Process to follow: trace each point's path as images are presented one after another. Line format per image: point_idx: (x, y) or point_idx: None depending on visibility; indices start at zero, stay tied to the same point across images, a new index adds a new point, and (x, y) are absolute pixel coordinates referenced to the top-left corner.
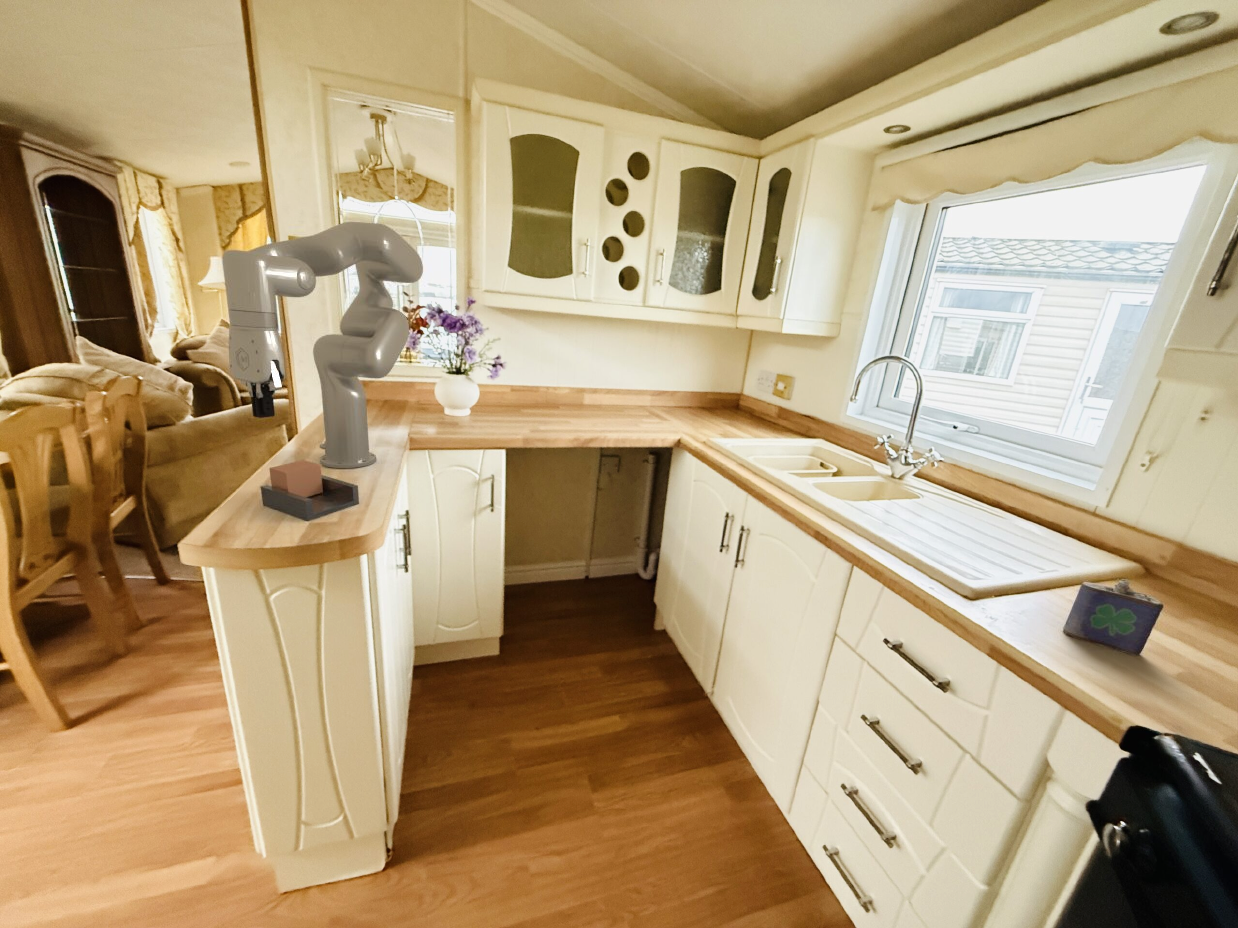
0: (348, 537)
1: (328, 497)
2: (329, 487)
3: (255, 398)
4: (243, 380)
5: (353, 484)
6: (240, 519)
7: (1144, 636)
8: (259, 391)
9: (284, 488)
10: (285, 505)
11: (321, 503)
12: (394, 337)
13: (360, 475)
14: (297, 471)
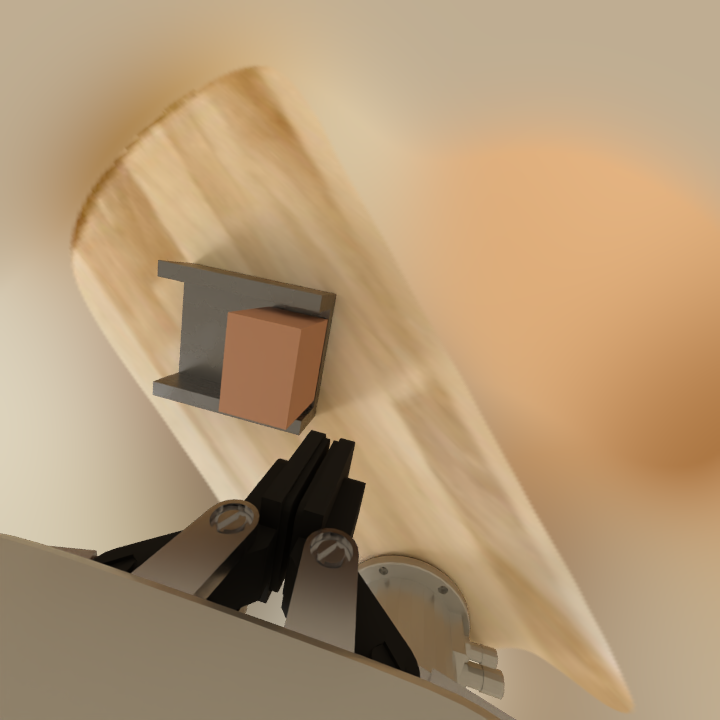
0: (82, 234)
1: None
2: None
3: (273, 497)
4: (276, 627)
5: (165, 397)
6: (311, 210)
7: None
8: (191, 537)
9: (266, 311)
10: (247, 276)
11: (218, 334)
12: None
13: None
14: (227, 344)
